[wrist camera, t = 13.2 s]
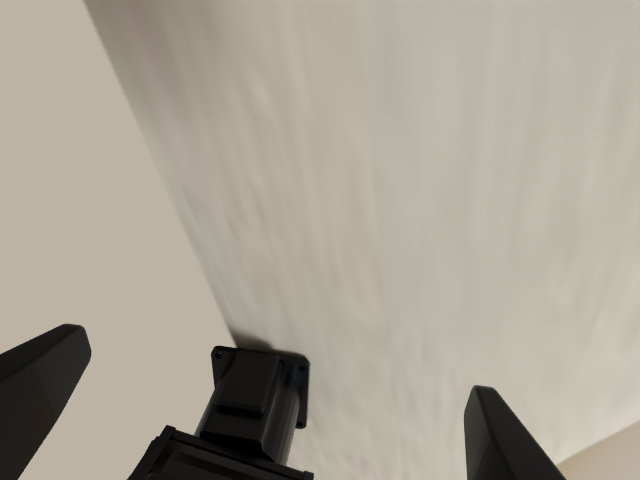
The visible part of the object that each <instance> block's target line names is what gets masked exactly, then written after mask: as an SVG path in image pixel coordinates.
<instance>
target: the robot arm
mask: <svg viewBox="0 0 640 480" xmlns="http://www.w3.org/2000/svg"><path fill="white" fill-rule="evenodd" d="M219 353H220V354H219ZM90 358H91V348H90V344H89V341H88V338H87V334H86V331H85V329H84V328H83V327H82V326H80V325H74V324H63V325H60V326H58V327H56V328H54V329H52V330H50V331H48V332H46V333H44V334H42V335H39V336H38V337H35V338H33V339H31V340H29V341H27V342H25V343H23V344H21V345H19V346H16V347H14V348H12V349H10V350H8V351H6V352H4V353H2V354H0V480H18V478H19V477H20V475H21V474H22V472H23V471H24V469H25V468H26V466H27V465H28V463H29V462H30V460H31V459H32V458H33V456H34V454H35V453H36V451H37V450H38V448H39V447H40V446H41V444H42V443H43V441H44V439H45V438H46V436H47V435H48V434H49V432H50V431H51V429H52V427H53V426H54V424H55V423H56V421H57V420H58V418H59V416H60V414H61V413H62V411H63V409H64V407H65V406H66V404H67V402H68V400H69V398H70V396H71V394H72V393H73V391H74V389H75V387H76V385H77V383H78V382H79V380H80V378H81V376H82V374H83V372H84V370H85V369H86V367H87V365H88V363H89V361H90ZM211 358H212V367H213V377H214V385H215V390H214V392H213V394H212V397H211V399H210V401H209V403H208V405H207V408H206V410H205V412H204V414H203V416H202V418H201V420H200V423H199V425H198V427H197V429H196V431H195V434H194V436H193V435H190V434H187V433H184V432H181V431H178V430H176V428H175V427H172V426H169V425H166V427H165V428H164V430H163V431H162V433H161V435H160V436H159V437H158V436H157V437H156V438H155V439H154V440H152V441H151V443H150V445H149V447H148V449H147V450H146V453H145V454H144V456H143V457H142V459H141V460H140V462H139V463H138V465H137V466H136V468H135V469H134V471H133V473H132V474H131V475H130V476H129V478H128V479H127V480H313V478H314V473H311V472H308V471H304V472H302V471H299V470H296V469H293V468H290V467H287V466H286V465H287V461H288V456H289V452H290V448H291V443H292V439H293V435H294V430H295V428H297V429H303V428H305V427H306V424H307V415H308V396H309V377H310V362H309V361H308V360H307V359H304V358H299V357H292V356H286V355H279V354H272V353H265V352H259V351H252V350H245V349H238V348H232V347H225V346H215V347H214V349H213V350H212V353H211ZM300 365H302V366H303V367H302V366H300ZM464 431H465V448H466V465H467V480H566V478H565V477H564V476H563V475H562V473H561V472H560V471H559V470H558V468H557V467H556V466H555V464H554V463H553V462H552V461H551V459H550V458H549V457H548V456H547V454H546V453H545V452H544V450H543V449H542V448H541V447H540V445H539V444H538V443H537V442H536V440H535V439H534V438H533V437H532V435H531V434H530V433H529V431H528V430H527V429H526V428H525V426H524V425H523V424H522V423H521V421H520V420H519V419H518V417H517V416H516V415H515V414H514V412H513V411H512V410H511V409H510V407H509V406H508V405H507V404H506V402H505V401H504V400H503V398H502V397H501V396H500V395H499V393H498V392H497V391H496V390H495V389H494V388H492V387H487V386H480V385H475V386H473V388H472V390H471V393H470V396H469V399H468V402H467V405H466V408H465V412H464Z"/></svg>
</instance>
